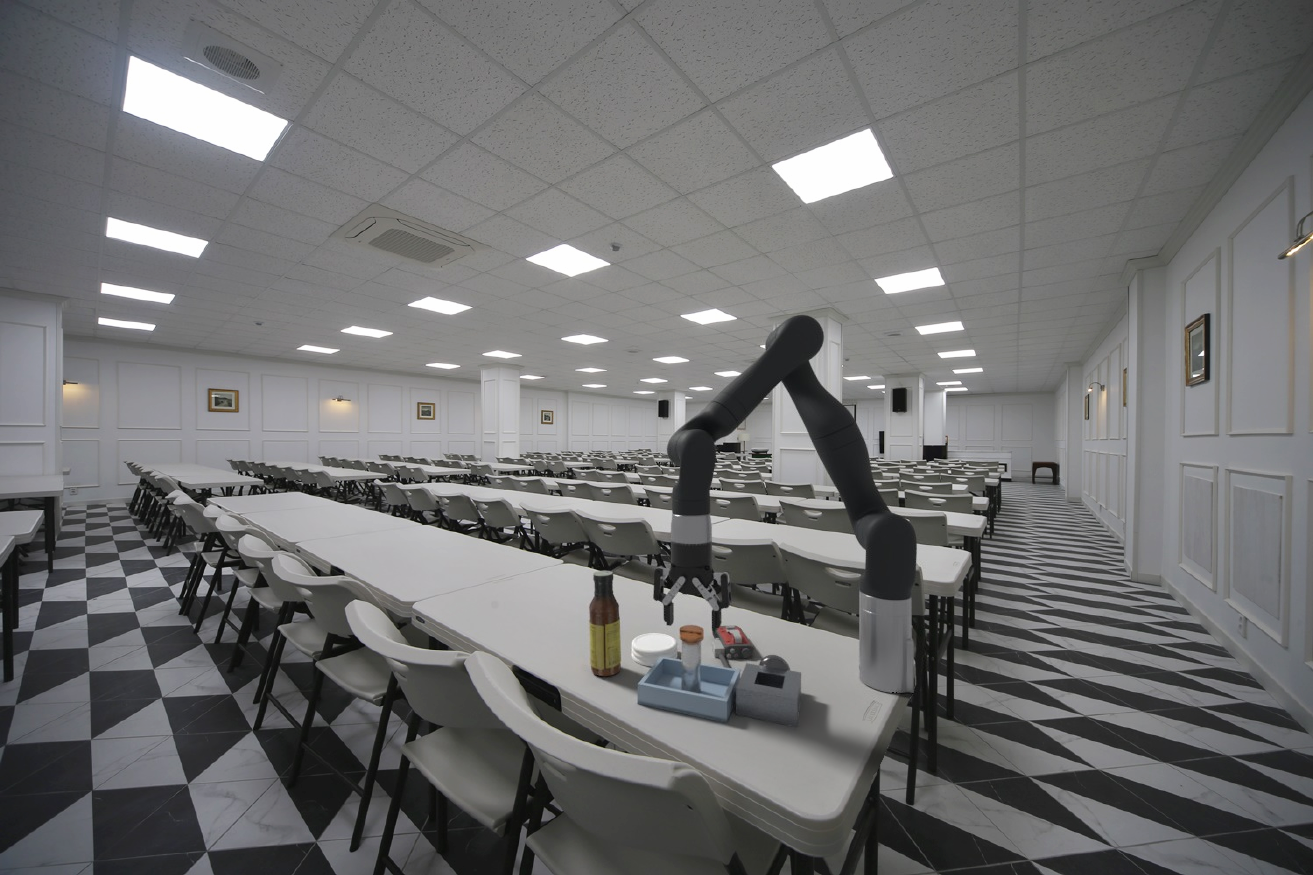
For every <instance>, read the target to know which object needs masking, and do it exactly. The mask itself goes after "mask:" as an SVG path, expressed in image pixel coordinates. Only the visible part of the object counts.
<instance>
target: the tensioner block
mask: <svg viewBox="0 0 1313 875" xmlns="http://www.w3.org/2000/svg"><path fill="white" fill-rule="evenodd" d="M745 663H746V662H745ZM801 700H802V672H801V671H795V670H791V667H790V665H789V664H788V662H787V661H786V660H785V659H784V657H783V658H782V657H781V656H779V655H776V654H769V655H768V654H767V655H766V656H764V657H762V659H761V660H760V661H759V663H758V664H753V663H748V662H747V663H746V664H745V666H744V668H743V670H742V673H741V674H740V680H739V683H738V685H737V688H736V700H735V707H736V708H735V709H736V710H735V713H736V714H735V715H736V716H741V717H746V718H751V719H755V720H761V721H765V722H769V723H770V722H771V723H775V724H780V725H785V726H790V727H793V728H798V724H799V717H800V709H801V703H802V702H801Z"/></svg>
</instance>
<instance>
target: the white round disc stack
mask: <svg viewBox="0 0 1313 875" xmlns="http://www.w3.org/2000/svg"><path fill="white" fill-rule="evenodd" d="M630 650H631V659H632V660H633V662H635V663H637V664H639V665H642V666H645V667H650V668H651V667H652V666H653V665H654V664H655V663H656V661H657V660H658V659H659V658H660V657H661V656H663V657H668V658H674V659H678V641H677V640H676V639H675V638H674V637H673V636H671V635H668V634H664V633H658V632H654V633H653V632H651V633H649V632H648V633H643V634H641V635H638V636H636V637H634V639H633V640H631V649H630Z"/></svg>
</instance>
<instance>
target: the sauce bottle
mask: <svg viewBox="0 0 1313 875" xmlns="http://www.w3.org/2000/svg"><path fill="white" fill-rule="evenodd" d="M592 576H593V578H592V579H593V582H594V596H593V598H592V599H591V602H590V603H589V607H588V609H589V611H588V612H589V620H588V621H589V623H588V624H589V626H588V628H589V660H590V662H589V664H590V670H591V672H592V673H593V675H595V676H597V675H598V677H599V676H600V677H611V676H614V675H616V674H618V673H619V672H620V671H621V667H622V665H621V661H622V651H621V650H622V648H621V647H622V646H621V618H620V617H621V616H620V604H619V602H618V601H617V599H616V597H615V595H614V586H613V584H614V583H613V581H614V572H613V571H611V570H599V571H596V572H594V573H593V575H592Z"/></svg>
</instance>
